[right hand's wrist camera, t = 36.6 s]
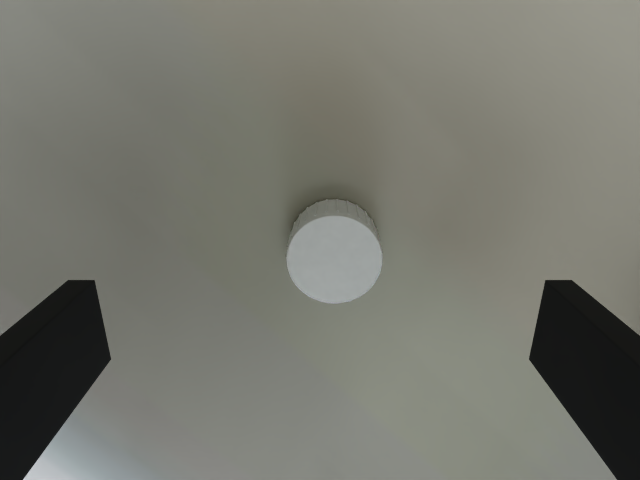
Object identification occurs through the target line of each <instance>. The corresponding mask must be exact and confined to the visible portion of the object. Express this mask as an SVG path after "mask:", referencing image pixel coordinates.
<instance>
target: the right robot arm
mask: <svg viewBox="0 0 640 480" xmlns="http://www.w3.org/2000/svg"><path fill="white" fill-rule="evenodd" d="M110 360H111V357H110V352H109V347H108V343H107V338H106V333H105V328H104V323H103V319H102V314H101V309H100V304H99V299H98V295H97V290H96V285H95V280H68V281H67V282H65V283H64V284H63V285H62V286H61V287H59V288H58V289H57V290H56V291H54V292H53V293H52V294H51V295H50V296H48V297H47V298H46V299H45V300H43V301H42V302H41V303H40V304H39V305H37V306H36V307H35V308H34V309H32V310H31V311H30V312H29V313H28V314H26V315H25V316H24V317H23V318H21V319H20V320H19V321H18V322H17V323H15V324H14V325H13V326H12V327H10V328H9V329H8V330H7V331H6V332H4V333H3V334H2V335H1V336H0V480H23V479H24V477H25V476H26V475H27V473H28V472H29V470H30V469H31V468H32V466H33V465H34V464H35V462H36V461H37V460H38V458H39V457H40V455H41V454H42V453H43V451H44V450H45V449H46V447H47V446H48V445H49V443H50V442H51V440H52V439H53V438H54V436H55V435H56V434H57V432H58V431H59V430H60V428H61V427H62V425H63V424H64V423H65V421H66V420H67V419H68V417H69V416H70V414H71V413H72V412H73V410H74V409H75V408H76V406H77V405H78V404H79V402H80V401H81V399H82V398H83V397H84V395H85V394H86V393H87V391H88V390H89V389H90V387H91V386H92V384H93V383H94V382H95V380H96V379H97V378H98V376H99V375H100V374H101V372H102V371H103V369H104V368H105V367H106V365H107V364H108V363H109V361H110ZM529 360H530V361H531V363H532V364H533V365H534V367H535V368H536V369H537V371H538V372H539V374H540V375H541V376H542V378H543V379H544V380H545V382H546V383H547V384H548V386H549V387H550V389H551V390H552V391H553V393H554V394H555V395H556V397H557V398H558V399H559V401H560V402H561V404H562V405H563V406H564V408H565V409H566V410H567V412H568V413H569V414H570V416H571V417H572V419H573V420H574V421H575V423H576V424H577V425H578V427H579V428H580V430H581V431H582V432H583V434H584V435H585V436H586V438H587V439H588V440H589V442H590V443H591V445H592V446H593V447H594V449H595V450H596V451H597V453H598V454H599V455H600V457H601V458H602V460H603V461H604V462H605V464H606V465H607V466H608V468H609V469H610V470H611V472H612V473H613V475H614V476H615V477H616V479H617V480H640V336H639V335H638V334H637V333H636V332H634V331H633V330H632V329H631V328H630V327H628V326H627V325H626V324H625V323H623V322H622V321H621V320H620V319H619V318H617V317H616V316H615V315H614V314H612V313H611V312H610V311H609V310H608V309H606V308H605V307H604V306H603V305H601V304H600V303H599V302H598V301H597V300H595V299H594V298H593V297H592V296H590V295H589V294H588V293H587V292H586V291H584V290H583V289H582V288H581V287H579V286H578V285H577V284H576V283H575V282H573V281H572V280H545V285H544V290H543V295H542V299H541V304H540V309H539V314H538V319H537V323H536V328H535V333H534V338H533V343H532V347H531V352H530V357H529Z"/></svg>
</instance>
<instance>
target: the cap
mask: <svg viewBox="0 0 640 480" xmlns="http://www.w3.org/2000/svg"><path fill="white" fill-rule="evenodd" d="M380 243H381V241H380V238H379V235H378V231H377V228H376V227H375V226H374V223H373V219H372V218H370V217H369V216H368V214H367V213H366V211H365V210H363V209H361V208H360V207H358V205H357V204H356V205H355V204H353V203H351V202H349V201H348V200H347V201H345V200H338V199H337V198H336V199H330V200H328V199H326V200H324V201H320V202H315V204H313V205H311V206H310V207H306V210H304V211H303V212H302V213H300V214H299V217H298V219H297V220H296V222H295V221H294V224H293V228H292V231H291V232H290V236H289V240H288V244H287V247H288V249H287V253H286V257H287V259H286V262H287V268H288V272H289V275H290V277H291V279H292V281H293V282H294V284H295V285H296V286H297V287H298V288H299V289H300V290H301V291H302V292H303V293H304V294H306V295H307V296H309V297H311V298H313V299H315V300H317V301H321V302H325V303H343V302H348V301H351V300H354V299H356V298H358V297H360V296H362V295H363V294H364V293H366V292H367V291H368V290H369V289H370V288H371V287H372V286H373V285H374V283H375V282H376V280H377V279H378V277H379V274H380V272H381V268H382V253H383V251H382V248H381V244H380Z"/></svg>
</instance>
